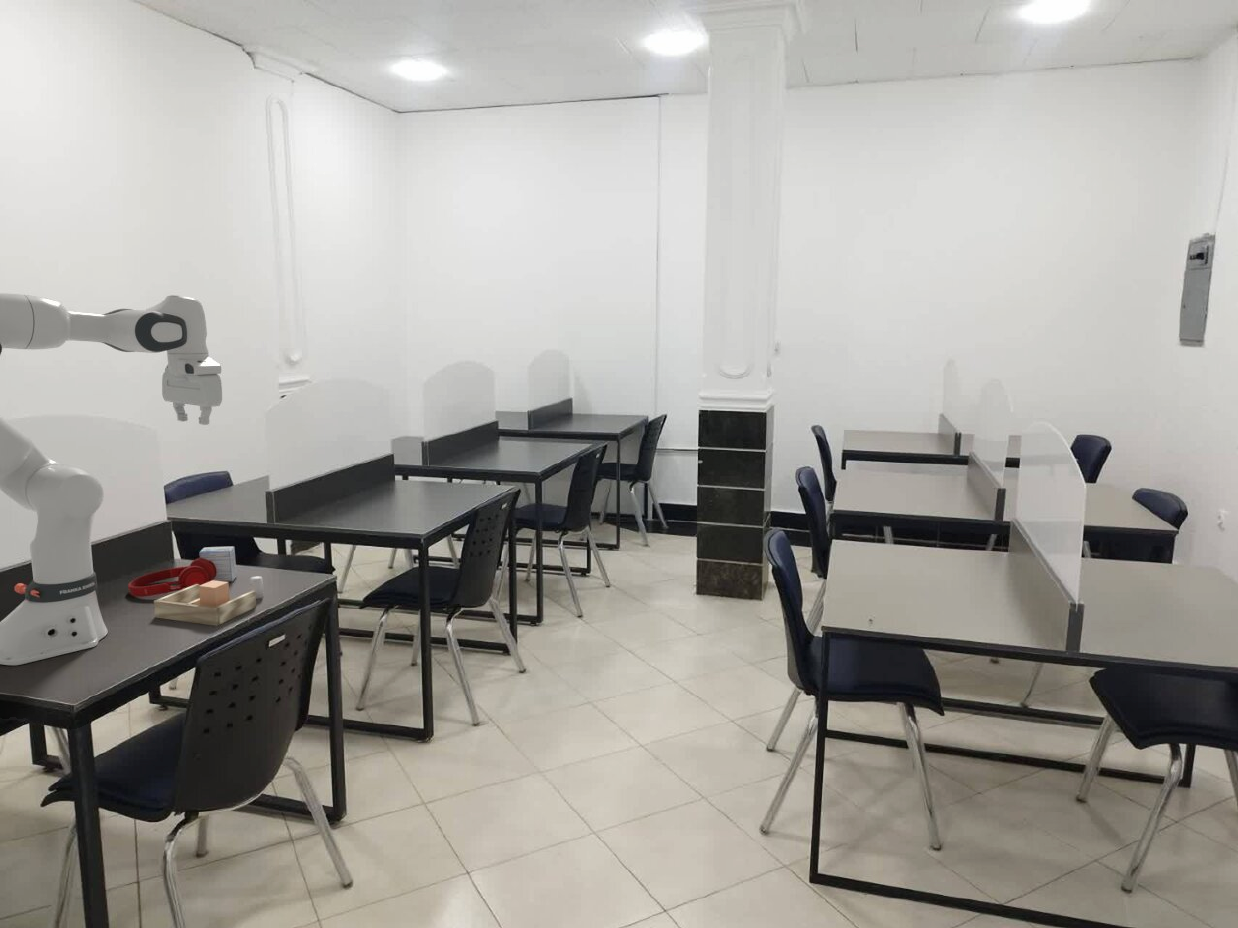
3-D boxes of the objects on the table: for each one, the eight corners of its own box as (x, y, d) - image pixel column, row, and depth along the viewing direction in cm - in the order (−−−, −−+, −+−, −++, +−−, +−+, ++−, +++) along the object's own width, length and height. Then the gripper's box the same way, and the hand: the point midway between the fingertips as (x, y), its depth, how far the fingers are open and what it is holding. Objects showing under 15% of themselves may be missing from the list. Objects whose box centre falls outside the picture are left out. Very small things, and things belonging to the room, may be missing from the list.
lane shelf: (216, 625, 200) (215, 609, 200) (155, 617, 205) (153, 600, 204) (256, 606, 213) (255, 591, 212) (197, 599, 218) (196, 583, 217)
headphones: (222, 577, 234) (144, 590, 231) (217, 552, 232) (138, 565, 230) (206, 595, 220) (123, 609, 217) (200, 568, 218) (116, 582, 215)
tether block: (217, 620, 204) (214, 587, 202) (201, 618, 205) (198, 585, 203) (268, 596, 221) (266, 565, 219) (253, 594, 222) (251, 564, 221)
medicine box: (237, 576, 236) (235, 545, 234) (233, 581, 231) (230, 550, 230) (205, 578, 234) (203, 546, 233) (201, 583, 230) (198, 551, 228)
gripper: (152, 363, 210) (157, 420, 213) (199, 368, 199) (204, 428, 201) (178, 362, 215) (182, 417, 218) (225, 366, 204) (229, 425, 207)
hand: (193, 422), depth 210 cm, fingers open, 8 cm apart
